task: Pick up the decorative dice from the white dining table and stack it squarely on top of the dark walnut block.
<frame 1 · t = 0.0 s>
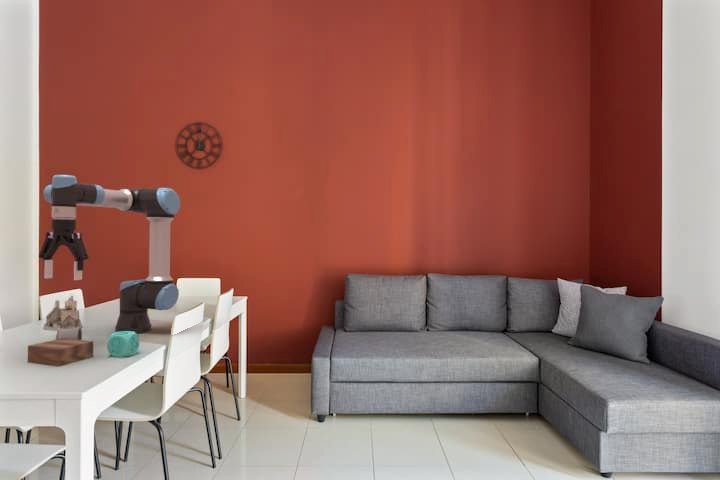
hand: (63, 279, 181), 28 cm above the table, fingers open, 13 cm apart
ceramic cottage: (62, 329, 235), on the table
ceramic mug: (69, 348, 197), on the table
decorative dice: (123, 355, 188), on the table
walnut block: (61, 360, 179), on the table
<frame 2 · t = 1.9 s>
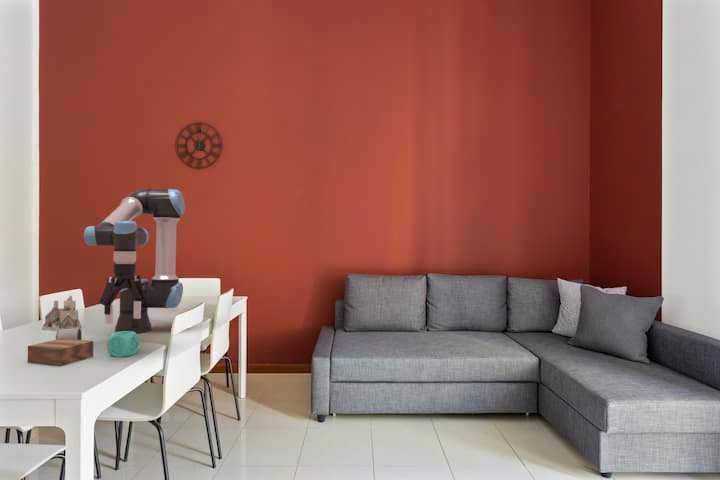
hand: (123, 321, 187), 12 cm above the table, fingers open, 13 cm apart
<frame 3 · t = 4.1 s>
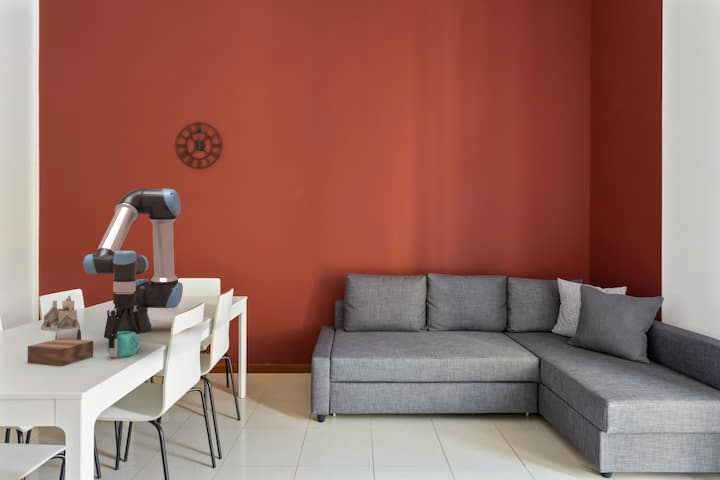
hand: (123, 354, 188), 0 cm above the table, fingers open, 9 cm apart
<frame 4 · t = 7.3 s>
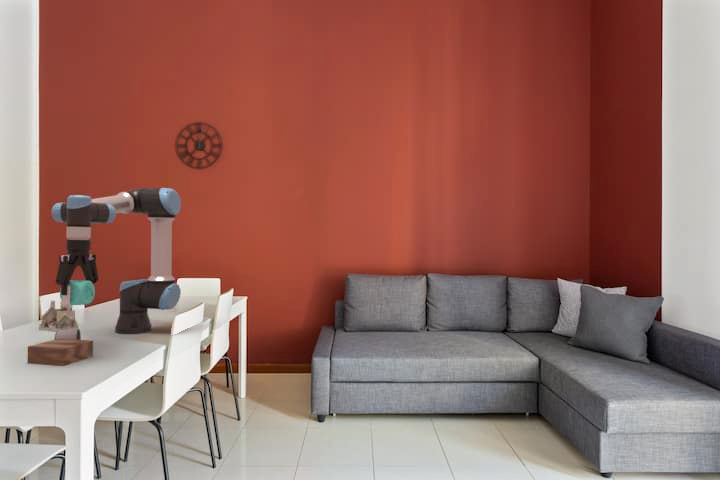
hand: (77, 302, 181), 20 cm above the table, fingers closed on decorative dice, 9 cm apart
decorative dice: (77, 304, 181), point 19 cm above the table, touching gripper
when the fingers open (7 cm above the table, at t = 9.8 s): decorative dice drops 1 cm, resting on walnut block.
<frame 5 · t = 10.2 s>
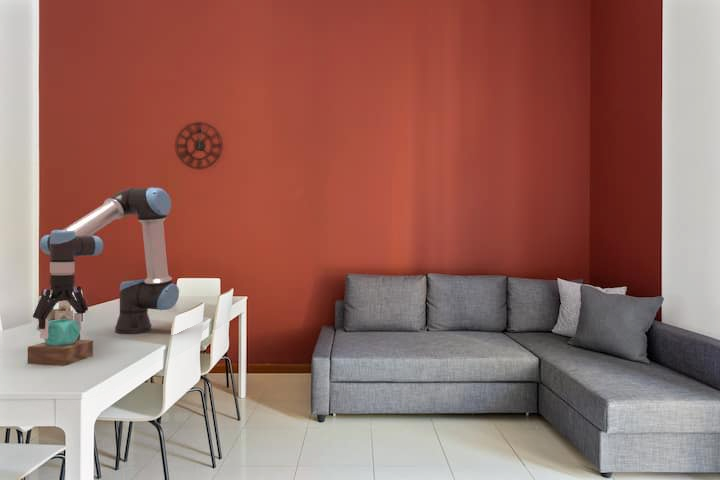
hand: (61, 334, 179), 9 cm above the table, fingers open, 13 cm apart
decorative dice: (61, 344, 179), point 5 cm above the table, touching walnut block
walnut block: (61, 360, 179), on the table, touching decorative dice
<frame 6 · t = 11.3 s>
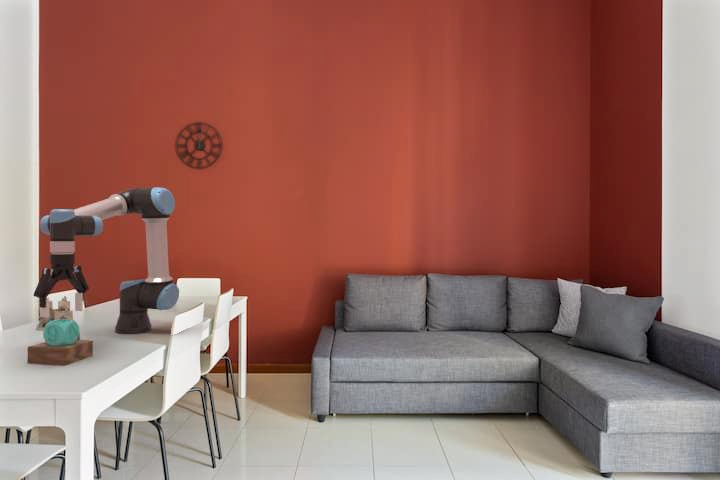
hand: (62, 313, 179), 16 cm above the table, fingers open, 13 cm apart
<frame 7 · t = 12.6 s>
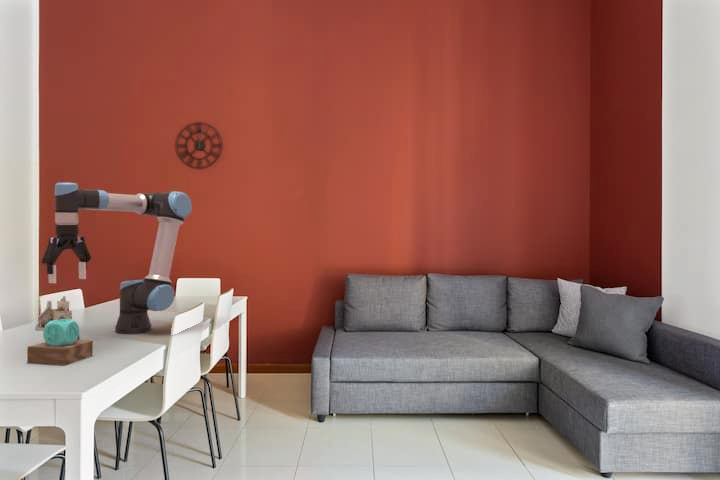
hand: (68, 281, 191), 26 cm above the table, fingers open, 13 cm apart
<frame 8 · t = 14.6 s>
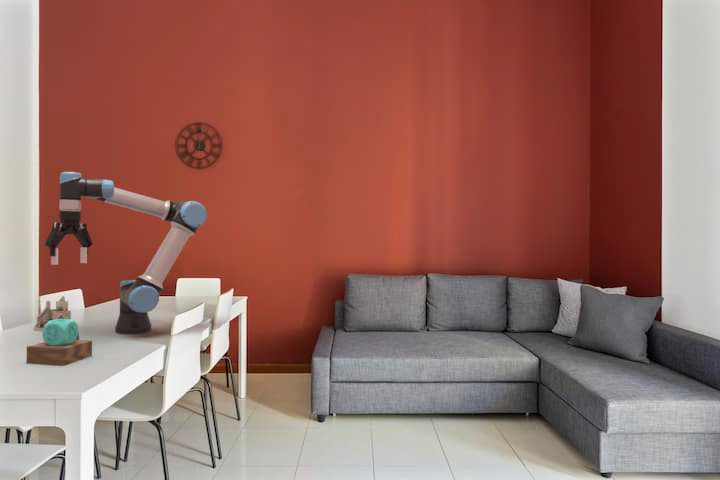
hand: (69, 264, 205), 32 cm above the table, fingers open, 13 cm apart
at the end: decorative dice inside the target area on the walnut block (0.2 cm from its centre), point 5.8 cm above the walnut block's base; decorative dice tilted 0°; the gripper is holding nothing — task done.
